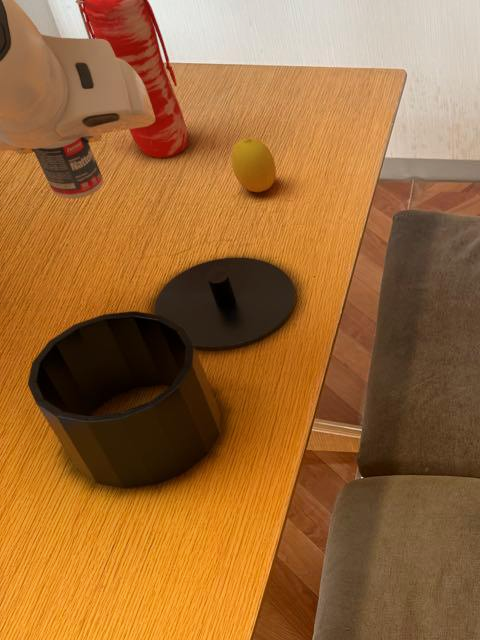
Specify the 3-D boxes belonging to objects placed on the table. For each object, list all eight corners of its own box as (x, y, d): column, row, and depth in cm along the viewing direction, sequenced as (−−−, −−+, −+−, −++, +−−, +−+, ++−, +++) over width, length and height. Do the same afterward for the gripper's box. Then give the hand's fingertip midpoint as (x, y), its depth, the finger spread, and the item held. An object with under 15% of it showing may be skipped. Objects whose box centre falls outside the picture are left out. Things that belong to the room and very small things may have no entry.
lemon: (256, 177, 126) (242, 122, 119) (289, 187, 124) (276, 133, 118) (232, 197, 123) (216, 142, 116) (265, 208, 121) (250, 153, 115)
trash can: (64, 500, 92) (17, 430, 83) (81, 393, 101) (41, 320, 92) (219, 480, 93) (189, 410, 85) (223, 377, 102) (196, 304, 94)
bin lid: (153, 362, 104) (138, 330, 100) (161, 272, 113) (149, 240, 109) (298, 346, 106) (290, 314, 102) (295, 259, 115) (287, 227, 111)
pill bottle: (90, 202, 94) (53, 121, 87) (44, 197, 94) (3, 116, 87) (113, 174, 97) (79, 93, 90) (68, 169, 97) (31, 88, 90)
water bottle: (107, 166, 127) (27, -27, 106) (119, 136, 131) (45, -55, 111) (193, 165, 127) (130, -28, 107) (202, 134, 132) (143, -56, 112)
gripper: (-97, 149, 77) (-38, 190, 90) (147, 108, 81) (169, 153, 95) (-124, 73, 76) (-61, 125, 89) (125, 35, 80) (150, 91, 93)
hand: (59, 139), depth 92 cm, fingers closed on pill bottle, 5 cm apart
